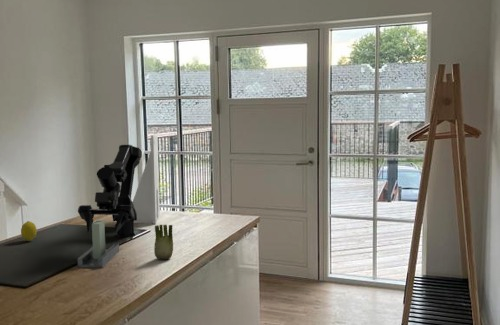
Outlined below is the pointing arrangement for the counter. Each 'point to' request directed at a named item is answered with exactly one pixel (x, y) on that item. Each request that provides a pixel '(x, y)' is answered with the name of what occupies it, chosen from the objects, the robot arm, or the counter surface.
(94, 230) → the door panel
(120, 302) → the counter surface
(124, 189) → the robot arm
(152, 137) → the white bracket plate
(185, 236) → the counter surface
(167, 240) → the fennel bulb
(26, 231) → the lemon
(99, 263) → the track
